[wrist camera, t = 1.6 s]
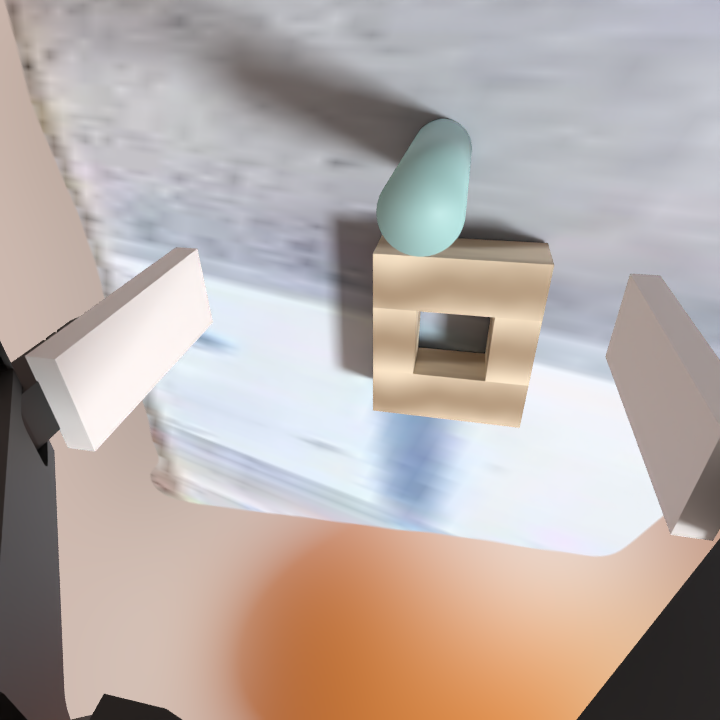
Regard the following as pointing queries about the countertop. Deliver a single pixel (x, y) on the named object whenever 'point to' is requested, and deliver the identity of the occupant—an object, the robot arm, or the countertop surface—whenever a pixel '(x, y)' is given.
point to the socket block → (463, 297)
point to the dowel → (428, 191)
